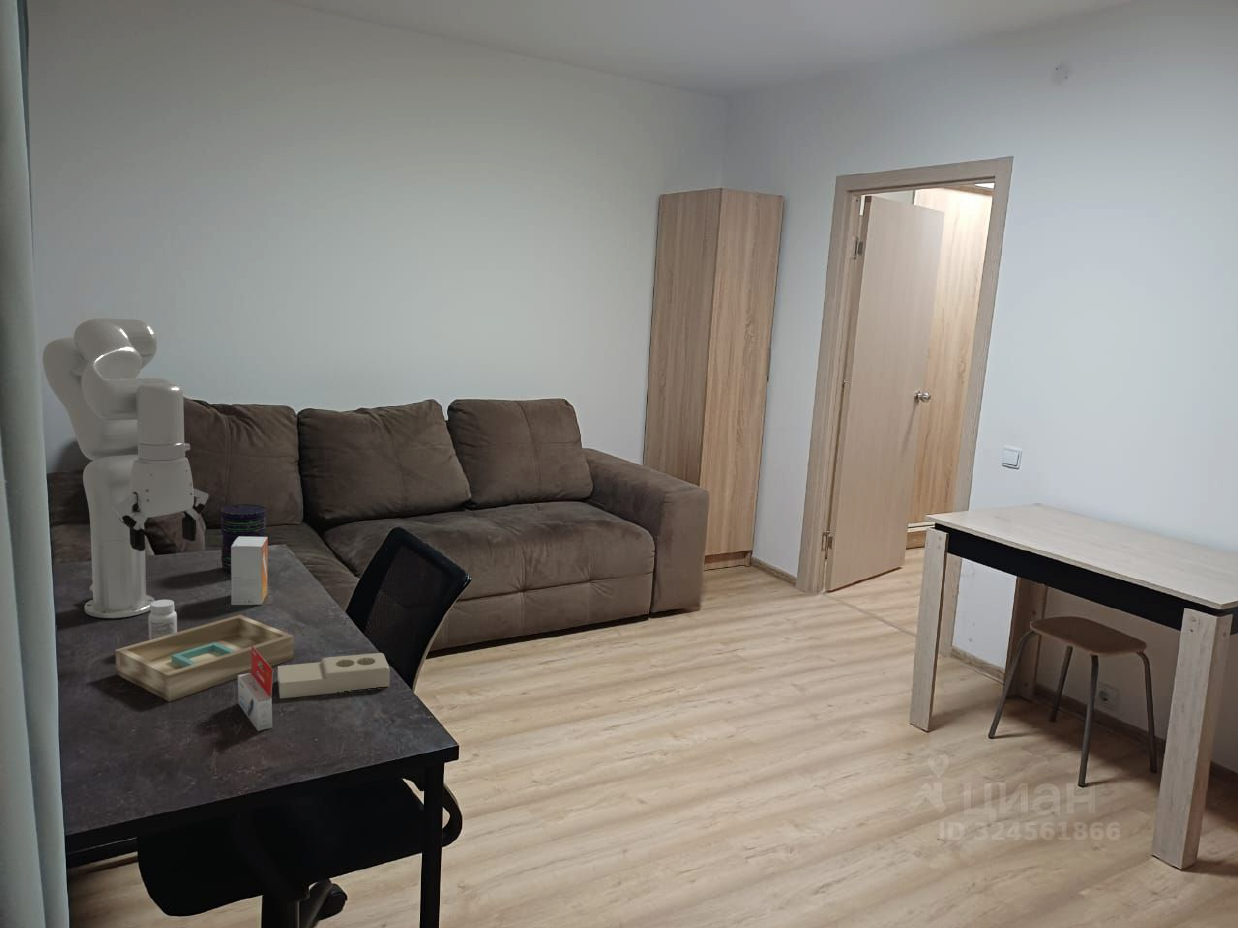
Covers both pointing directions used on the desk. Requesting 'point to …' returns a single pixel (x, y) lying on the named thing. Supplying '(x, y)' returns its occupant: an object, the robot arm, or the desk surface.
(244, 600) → the small box
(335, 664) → the beige stepped holder block
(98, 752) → the desk surface
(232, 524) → the storage jar
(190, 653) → the collar
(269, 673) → the ink cartridge box
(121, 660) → the walled box
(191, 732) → the desk surface
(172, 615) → the pill bottle
